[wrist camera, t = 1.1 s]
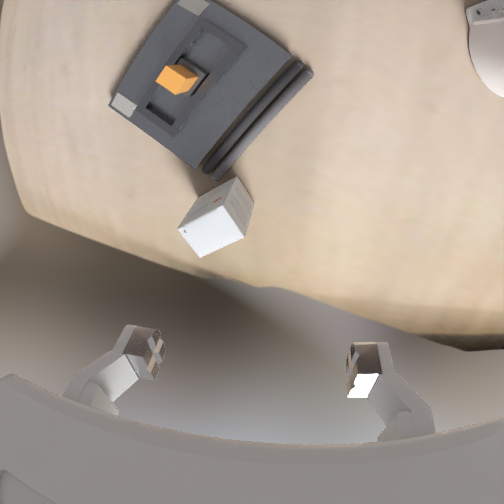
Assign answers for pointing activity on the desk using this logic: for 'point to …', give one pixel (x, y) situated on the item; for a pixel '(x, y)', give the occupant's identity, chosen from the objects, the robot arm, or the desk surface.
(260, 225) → the desk surface
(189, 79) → the lever
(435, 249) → the desk surface
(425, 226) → the desk surface
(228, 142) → the twin grey rods
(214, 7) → the breaker panel
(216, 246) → the small box
